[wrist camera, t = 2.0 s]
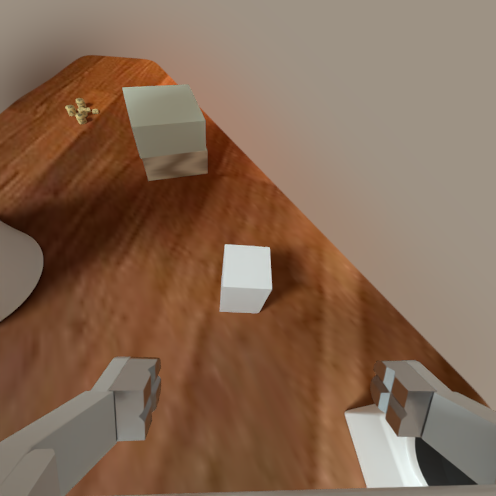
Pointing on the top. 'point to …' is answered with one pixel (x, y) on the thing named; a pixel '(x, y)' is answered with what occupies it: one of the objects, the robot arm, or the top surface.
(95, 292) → the top surface
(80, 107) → the beige lumpy cluster
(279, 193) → the top surface
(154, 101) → the sage block
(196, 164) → the birch block
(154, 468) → the top surface
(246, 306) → the grey block
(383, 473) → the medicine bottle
